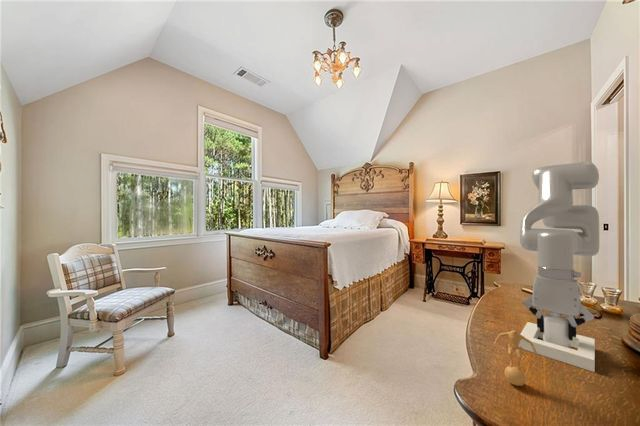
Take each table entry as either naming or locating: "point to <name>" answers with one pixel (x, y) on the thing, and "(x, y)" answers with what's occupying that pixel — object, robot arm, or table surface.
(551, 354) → the cream square frame
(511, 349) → the figurine
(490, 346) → the table surface
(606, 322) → the table surface
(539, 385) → the table surface
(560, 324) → the eye dropper bottle
